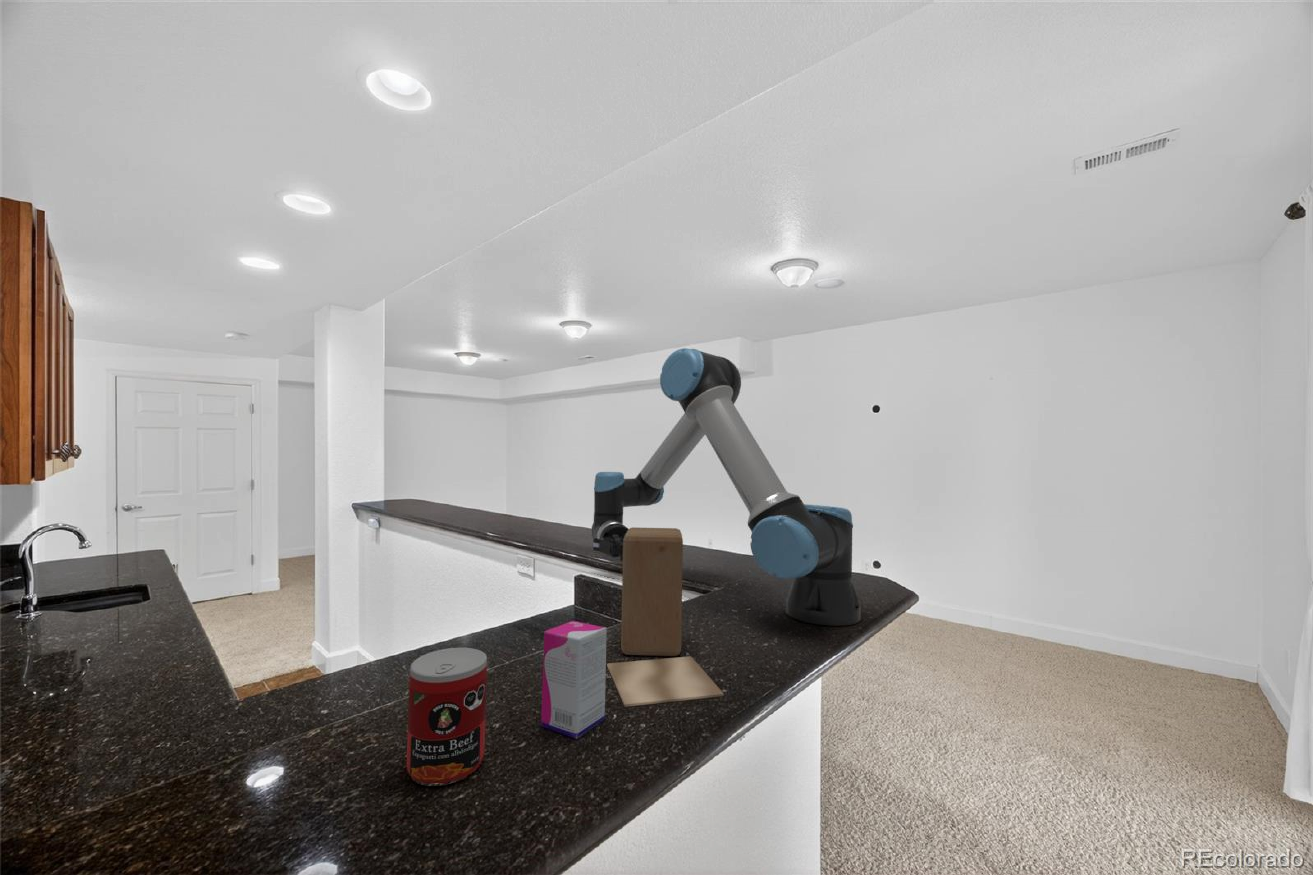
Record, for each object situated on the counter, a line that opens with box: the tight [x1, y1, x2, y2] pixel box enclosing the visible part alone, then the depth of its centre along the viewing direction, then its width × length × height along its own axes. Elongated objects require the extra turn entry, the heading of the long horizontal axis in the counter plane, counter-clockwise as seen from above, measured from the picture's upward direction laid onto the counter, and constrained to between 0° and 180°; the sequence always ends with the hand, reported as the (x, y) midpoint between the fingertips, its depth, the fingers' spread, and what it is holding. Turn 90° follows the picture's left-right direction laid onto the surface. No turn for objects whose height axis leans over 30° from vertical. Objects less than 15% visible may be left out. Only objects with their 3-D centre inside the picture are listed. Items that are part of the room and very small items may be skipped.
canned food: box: [406, 647, 488, 783], centre depth 56 cm, size 8×8×11 cm
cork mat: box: [606, 656, 725, 708], centre depth 78 cm, size 14×14×1 cm
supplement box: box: [540, 620, 608, 740], centre depth 65 cm, size 6×6×12 cm
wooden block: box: [620, 526, 684, 657], centre depth 92 cm, size 10×10×20 cm
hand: (636, 557), depth 104 cm, fingers closed
